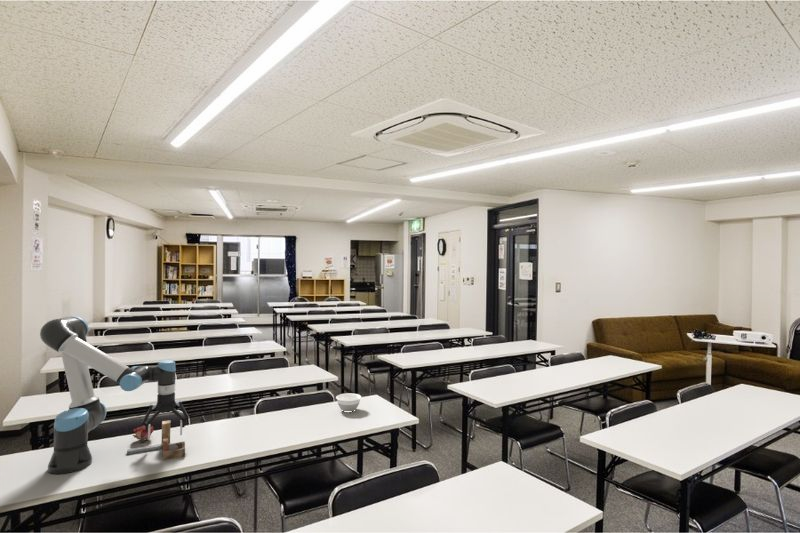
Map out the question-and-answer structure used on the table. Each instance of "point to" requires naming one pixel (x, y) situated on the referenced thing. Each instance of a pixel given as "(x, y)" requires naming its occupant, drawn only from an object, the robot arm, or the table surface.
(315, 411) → the table surface
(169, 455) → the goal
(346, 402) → the bowl
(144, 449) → the rail
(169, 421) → the tan and red block
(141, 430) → the flower
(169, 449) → the ball
